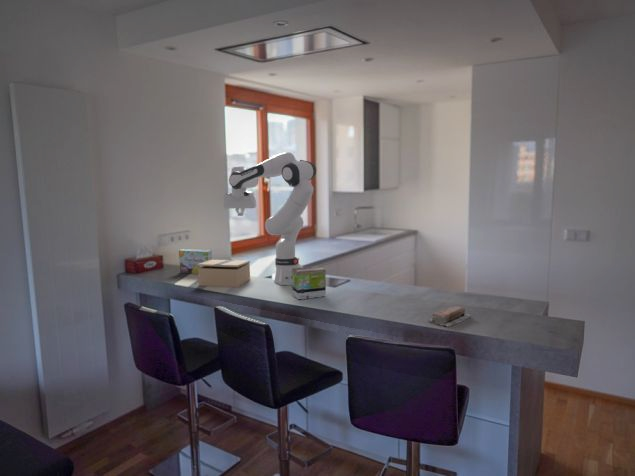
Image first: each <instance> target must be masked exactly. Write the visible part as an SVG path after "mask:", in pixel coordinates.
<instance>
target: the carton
mask: <svg viewBox="0 0 635 476" xmlns="http://www.w3.org/2000/svg"><path fill="white" fill-rule="evenodd" d="M250 268H251V267H250V263H247V264H245V265H242V266H239V267H218V266H202V267H200V268H198V274H197V275H198V285H199V286H202V287H223V288H224V287H225V288H226V287H228V288H239V287H241V286H242V285H244V284H246V283H247V282H248V281H250V280H251V270H250ZM240 285H241V286H240Z"/></svg>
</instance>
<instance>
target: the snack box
mask: <svg viewBox="0 0 635 476" xmlns="http://www.w3.org/2000/svg"><path fill="white" fill-rule="evenodd" d="M212 252H213V251H212V249H211V250H210V249H192V248H186V249H185V248H182V249H179V250H178V259H179V270H180V273H181V274H192V273H194V275H198V268H200V267H202V266H198V264H200V263H203V262H206V261H209V260H213V253H212Z"/></svg>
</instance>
